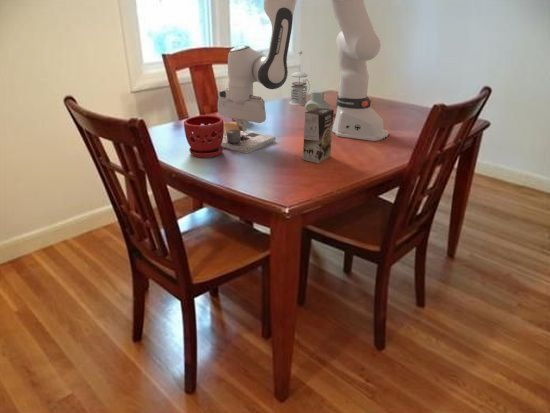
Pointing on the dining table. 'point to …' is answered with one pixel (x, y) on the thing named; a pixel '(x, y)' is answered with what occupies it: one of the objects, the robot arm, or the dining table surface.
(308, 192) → the dining table surface
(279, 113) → the dining table surface
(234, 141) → the swing bar
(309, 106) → the air freshener
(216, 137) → the plant pot
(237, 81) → the robot arm
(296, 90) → the french press
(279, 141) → the dining table surface
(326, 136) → the coffee box
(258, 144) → the panel
